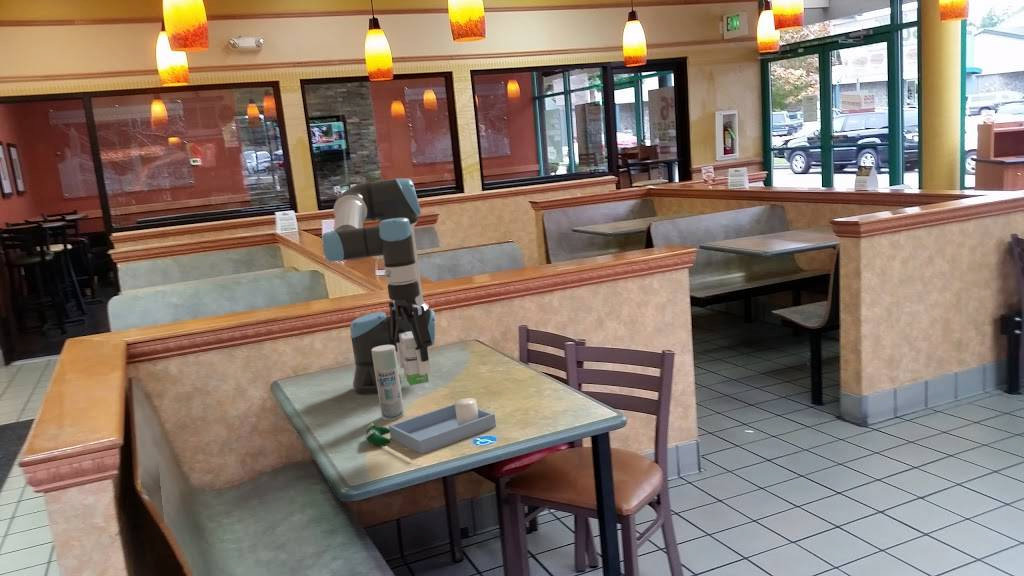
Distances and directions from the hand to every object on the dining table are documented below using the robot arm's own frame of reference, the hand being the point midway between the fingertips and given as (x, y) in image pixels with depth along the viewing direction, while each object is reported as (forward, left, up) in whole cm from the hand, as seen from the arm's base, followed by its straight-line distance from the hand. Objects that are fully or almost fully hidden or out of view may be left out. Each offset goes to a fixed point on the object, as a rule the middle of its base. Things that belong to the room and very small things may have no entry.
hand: (414, 370), depth 189 cm
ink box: (0, 0, -3) cm, 3 cm away
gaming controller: (-9, -8, -19) cm, 23 cm away
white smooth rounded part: (+4, +11, -18) cm, 21 cm away
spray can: (-23, +3, -19) cm, 30 cm away
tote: (+1, +5, -18) cm, 19 cm away
